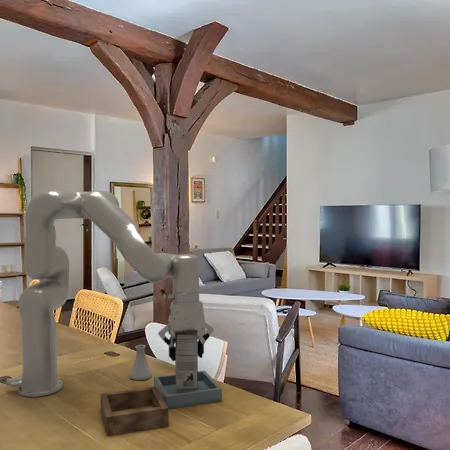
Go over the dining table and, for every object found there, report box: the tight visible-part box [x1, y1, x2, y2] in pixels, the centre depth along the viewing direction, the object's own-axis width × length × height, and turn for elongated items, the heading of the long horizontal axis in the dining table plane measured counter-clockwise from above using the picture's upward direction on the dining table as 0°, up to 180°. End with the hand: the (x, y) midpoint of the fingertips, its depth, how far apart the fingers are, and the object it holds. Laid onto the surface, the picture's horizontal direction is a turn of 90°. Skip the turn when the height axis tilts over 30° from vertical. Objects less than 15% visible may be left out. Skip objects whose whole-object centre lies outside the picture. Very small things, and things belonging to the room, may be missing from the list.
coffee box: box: [174, 330, 199, 389], centre depth 137 cm, size 9×6×16 cm
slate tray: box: [153, 369, 223, 410], centre depth 137 cm, size 16×16×4 cm
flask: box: [129, 344, 153, 381], centre depth 151 cm, size 7×7×10 cm
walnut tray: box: [100, 386, 170, 437], centre depth 122 cm, size 15×15×4 cm
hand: (186, 357), depth 137 cm, fingers closed on coffee box, 7 cm apart
